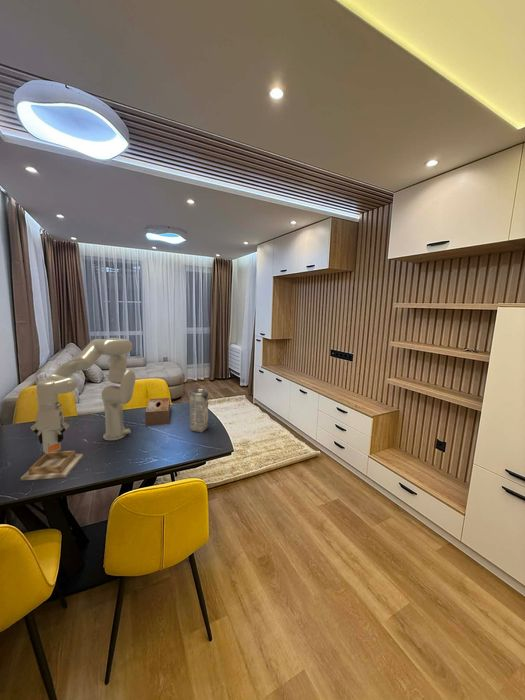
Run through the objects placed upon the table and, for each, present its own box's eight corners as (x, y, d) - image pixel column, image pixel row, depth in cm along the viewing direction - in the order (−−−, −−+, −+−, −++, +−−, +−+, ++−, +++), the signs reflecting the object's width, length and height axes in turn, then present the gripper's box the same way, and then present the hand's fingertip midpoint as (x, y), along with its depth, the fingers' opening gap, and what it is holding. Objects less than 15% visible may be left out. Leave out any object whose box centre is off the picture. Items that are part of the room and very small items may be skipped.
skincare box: (46, 454, 130) (44, 430, 128) (43, 451, 132) (40, 428, 130) (61, 449, 135) (59, 426, 133) (57, 446, 137) (55, 424, 135)
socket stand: (82, 456, 145) (82, 448, 145) (65, 477, 128) (64, 468, 127) (44, 458, 142) (43, 450, 141) (21, 480, 124) (20, 471, 124)
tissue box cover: (149, 411, 208) (149, 398, 206) (170, 410, 212) (169, 397, 210) (145, 426, 183) (145, 412, 182) (168, 424, 187) (168, 410, 186)
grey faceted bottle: (202, 433, 175) (202, 393, 171) (188, 430, 178) (187, 390, 174) (209, 428, 183) (209, 389, 179) (195, 425, 187) (195, 387, 182)
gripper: (72, 403, 135) (75, 437, 138) (32, 404, 132) (35, 438, 134) (65, 408, 128) (67, 444, 131) (22, 410, 124) (25, 446, 127)
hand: (51, 441), depth 132 cm, fingers closed on skincare box, 7 cm apart
